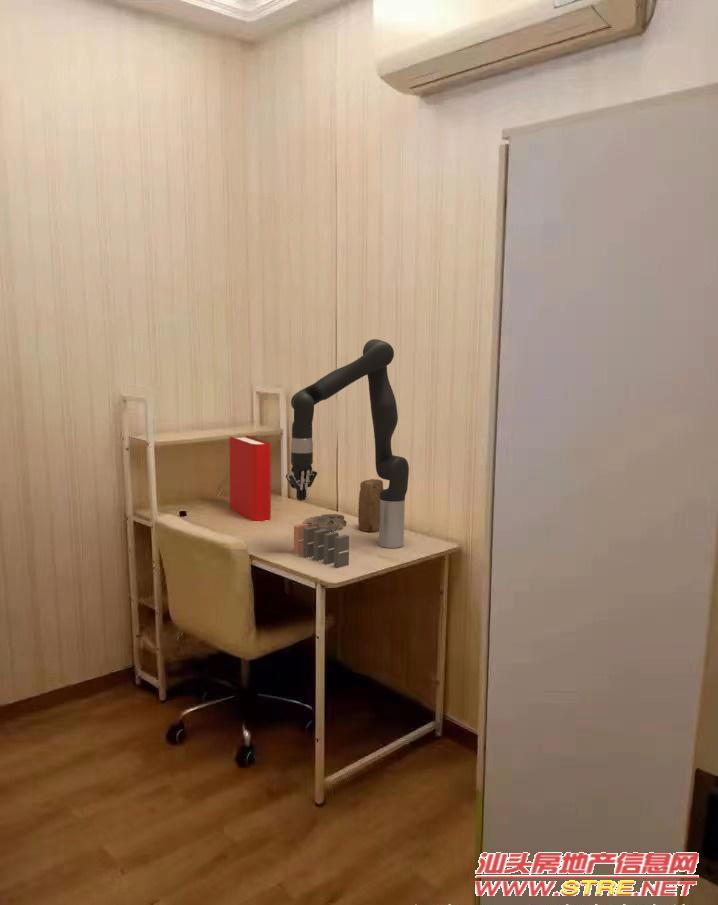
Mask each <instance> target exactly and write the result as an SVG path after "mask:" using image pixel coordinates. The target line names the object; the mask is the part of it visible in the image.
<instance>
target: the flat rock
mask: <svg viewBox="0 0 718 905" xmlns="http://www.w3.org/2000/svg"><path fill="white" fill-rule="evenodd" d="M301 524H308V527H313V526H316V527H318V530H322V529H327V530H328V533H330V532H334V531H335V532H337V531H340V530H342V529H344V527H345V526H346V525H347V520H346V519H345V515H342V514H338V513H328V514H327V513H325V514H321V515H316V516H310V517H308V518H305V519H304V520H303V521H302V523H301ZM343 526H344V527H343ZM339 529H340V530H339Z"/></svg>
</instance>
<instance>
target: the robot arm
mask: <svg viewBox="0 0 718 905" xmlns="http://www.w3.org/2000/svg"><path fill="white" fill-rule="evenodd" d="M394 357H395V351H394V348H393V347H392V345H390V343H389V342H387V341H385V340H381V339H378V338H377V339H376V338H375V339H374V338H373V339H369V340H368V341H366V343H365V345H364V346H363V350H362V355H361V356H360V357H358V358H357V359H355V360H353V361H352V362H350V363H348V364H346V365H343V366H341V367H339V368H337V369H335V370H332V371H331V372H329V373H327V374H326V375H324V376H323V377H321V378H320V379H318V380H317V381H316V382H313V383H312V384H310V385H308V386H307V387H305V388H303V389H300V390H299V391H297V392H296V393H294V395H293V396H292V397H291V400H290V405H291V408H292V409H293V422H292V424H291V441H290V442H291V443H290V464H291V465H292V467H291V470H290V473H289V474H286V475H285V479H286V480H287V481H288V483H289V485H290V487H291V488H292V489H295V491H296V492H295V493H296V499H297V501H299V502H300V501H305V500H306V499H307V489H308V488H311V487H312V485H313V484H314V481H315V479H316V477H317V475H318V471H315V470H313V466H312V465H313V463H314V454H313V453H314V443H313V442H314V441H313V421H314V415H315V414H314V413H315V405H316V404H318V403H320V402H321V401H326V400H328V399H330V398H331V397H333V396H334V395H336V394H337V393H339V392H340V391H341V390H343V389H345V388H346V387H348V386H349V385H351V384H353V383H355V382H357V381H358V380H359V379H361V378H363V377H365V376H367V379H368V380H367V381H368V382H367V383H368V392H369V402H370V411H371V419H372V428H373V436H374V437H373V438H374V450H375V451H374V452H375V453H374V456H375V458H374V460H375V470H376V473H377V476H378V477H379V478H380V479H381V480H382V479H383V480H386V481H388V482H389V483H388V487H387V488H386V489H384V488H383V489H384V490H382V491H381V492H380V512H379V531H378V546H380V547H383V548H387V549H397V548H402V547H404V546H405V544H404V543H405V542H404V540H405V510H406V507H405V506H406V495H407V491H408V489H409V488H408V487H409V486H408V485H409V475H410V474H409V473H410V469H409V468H410V466H409V463H408V460H407V459H406V458H405V457H403V456H399V455H393V451H392V437H393V435H394V433H395V430H396V427H397V425H398V421H399V417H398V416H399V414H398V406H397V400H396V397H395V393H394V390H393V388H392V385H391V383H390V380H389V375H388V365H390V364H391V363H392V361H393V359H394Z"/></svg>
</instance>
